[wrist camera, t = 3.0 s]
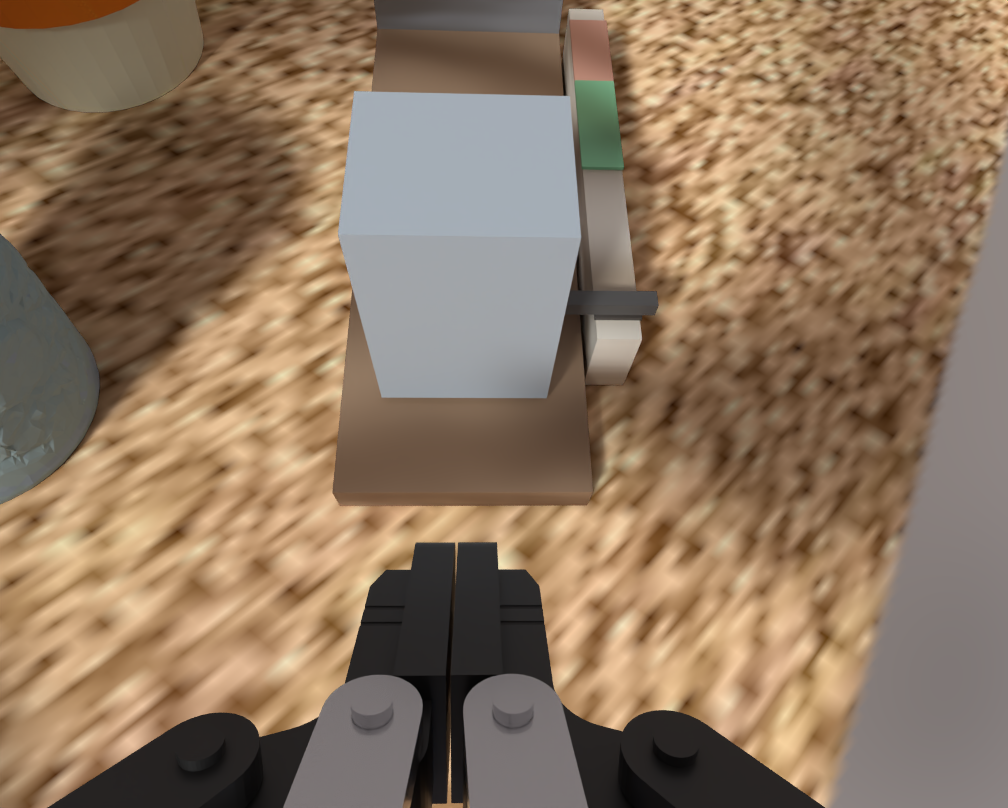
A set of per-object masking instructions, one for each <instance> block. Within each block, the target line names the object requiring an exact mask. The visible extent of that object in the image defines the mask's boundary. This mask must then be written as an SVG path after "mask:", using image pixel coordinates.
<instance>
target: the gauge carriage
mask: <svg viewBox="0 0 1008 808" xmlns="http://www.w3.org/2000/svg"><path fill="white" fill-rule="evenodd" d="M338 236H339V240H340V244H341V247H342V251H343V255H344V259H345V262H346V266H347V270H348V273H349V277H350V281H351V285H352V288H353V292H354V296H355V300H356V303H357V307H358V311H359V314H360V318H361V322H362V326H363V329H364V333H365V337H366V341H367V344H368V348H369V352H370V355H371V359H372V363H373V367H374V370H375V374H376V378H377V382H378V385H379V389H380V393H381V397H382V398H547V395H548V390H549V386H550V381H551V376H552V372H553V367H554V362H555V358H556V353H557V348H558V344H559V339H560V334H561V330H562V325H563V320H564V316H565V314H570V315H655V313H656V310H657V308H658V298H657V291H580V290H570V288H571V283H572V278H573V274H574V269H575V264H576V260H577V255H578V250H579V246H580V241H581V229H580V217H579V204H578V192H577V179H576V167H575V154H574V142H573V129H572V117H571V104H570V96H541V95H497V94H452V93H408V92H364V91H354V98H353V107H352V115H351V124H350V133H349V142H348V151H347V160H346V168H345V177H344V186H343V195H342V204H341V213H340V221H339V230H338Z"/></svg>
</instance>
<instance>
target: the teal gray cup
mask: <svg viewBox="0 0 1008 808" xmlns="http://www.w3.org/2000/svg"><path fill="white" fill-rule="evenodd" d="M99 389H100V381H99V372H98V369H97V365H96V362H95V359H94V356H93V354H92V352H91V349H90V348H89V346H88V344H87V343H86V341H85V340H84V338H83V337H82V336H81V334H80V333H79V332H78V330H77V329H76V328H75V326H74V325H73V323H72V322H71V321H70V319H69V318H68V317H67V315H66V314H65V313H64V311H63V310H62V309H61V307H60V306H59V304H58V303H57V302H56V301H55V300H54V298H53V297H52V296H51V295H50V294H49V292H48V291H47V290H46V288H45V287H44V285H43V284H42V282H41V281H40V280H39V278H38V277H37V276H36V274H35V273H34V272H33V271H32V270H31V269H29V268H28V267H27V263H26V261H25V260H24V259H23V257H22V256H21V254H20V253H19V252H18V251H17V250H16V249H15V247H14V246H13V245H12V244H11V243H10V242H9V241H8V240H6V239H5V238H4V237H3V236H2V235H1V234H0V504H2V503H4V502H6V501H9V500H11V499H13V498H15V497H17V496H19V495H21V494H23V493H24V492H26V491H28V490H30V489H32V488H33V487H34V486H36V485H37V484H39V483H40V482H42V481H43V480H44V479H46V478H47V477H48V476H49V475H51V474H52V473H53V472H54V471H55V470H56V469H58V468H59V467H60V466H61V465H62V464H63V463H64V462H65V461H66V460H67V458H68V457H69V456H70V455H71V454H72V453H73V451H74V450H75V449H76V448H77V446H78V445H79V443H80V442H81V441H82V439H83V438H84V436H85V434H86V432H87V430H88V428H89V426H90V424H91V422H92V420H93V417H94V414H95V411H96V408H97V405H98V397H99Z"/></svg>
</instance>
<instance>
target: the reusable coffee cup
mask: <svg viewBox="0 0 1008 808" xmlns="http://www.w3.org/2000/svg"><path fill="white" fill-rule="evenodd" d="M203 45H204V40H203V32H202V28H201V24H200V19H199V15H198V11H197V7H196V3H195V0H0V57H1V58H2V60H3V61H4V62H5V63H6V64H7V65H8V66H9V67H10V69H11V70H12V71H13V72H14V73H15V74H16V75H17V77H18V78H19V79H20V80H21V81H22V82H23V83H24V84H25V86H26V87H27V88H28V89H29V90H30V91H31V92H32V93H34V94H35V95H36V96H37V97H38V98H40V99H41V100H43V101H45V102H47V103H49V104H51V105H53V106H56V107H60V108H63V109H66V110H71V111H79V112H111V111H118V110H125V109H128V108H132V107H135V106H139V105H143V104H145V103H147V102H150V101H152V100H154V99H157V98H159V97H161V96H163V95H164V94H166V93H168V92H169V91H171V90H172V89H174V88H175V87H177V86H178V85H179V84H180V83H181V82H183V81H184V80H185V79H186V78H187V77H188V76H189V75H190V73H191V72H192V71H193V70H194V68H195V67H196V65H197V63H198V61H199V59H200V57H201V55H202V50H203Z"/></svg>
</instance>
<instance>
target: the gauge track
mask: <svg viewBox="0 0 1008 808" xmlns="http://www.w3.org/2000/svg"><path fill="white" fill-rule="evenodd" d="M562 4H563V0H374V5H375V12H376V20H377V27H378V31H377V41H376V52H375V62H374V72H373V82H372V92H408V93H452V94H497V95H541V96H570V104H571V117H572V129H573V142H574V154H575V167H576V179H577V192H578V204H579V217H580V229H581V241H580V246H579V250H578V255H577V260H576V264H575V269H574V274H573V278H572V283H571V288H570V290H580V291H636V284H635V275H634V267H633V258H632V250H631V242H630V233H629V225H628V216H627V208H626V199H625V191H624V183H623V174H622V170H623V169H624V163H623V155H622V146H621V138H620V130H619V122H618V113H617V105H616V97H615V88H614V80H613V72H612V64H611V55H610V47H609V39H608V30H607V22H606V21H605V20H604V14H603V10H597V9H569V13H568V20H567V28H566V36H565V43H564V51H563V59H562V66H561V54H560V41H559V29H560V21H561V12H562ZM640 320H642V315H570V314H565V316H564V320H563V325H562V330H561V334H560V339H559V344H558V348H557V353H556V358H555V362H554V367H553V372H552V376H551V381H550V386H549V390H548V395H547V398H382V397H381V393H380V389H379V385H378V382H377V378H376V374H375V370H374V367H373V363H372V359H371V355H370V352H369V348H368V344H367V341H366V337H365V333H364V329H363V326H362V322H361V318H360V314H359V311H358V307H357V303H356V300H355V296H354V292H353V288H352V298H351V308H350V318H349V329H348V339H347V349H346V359H345V370H344V380H343V390H342V400H341V411H340V421H339V431H338V441H337V452H336V462H335V472H334V482H333V494H334V496H335V498H336V500H337V501H338V503H339V505H340V506H498V505H587V504H588V502H589V500H590V497H591V495H592V493H593V485H592V471H591V458H590V444H589V431H588V418H587V404H586V391H585V385H623V384H624V381H625V379H626V377H627V374H628V372H629V370H630V367H631V365H632V362H633V360H634V358H635V355H636V353H637V351H638V348H639V346H640V343H641V341H642V334H641V326H640Z"/></svg>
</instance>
